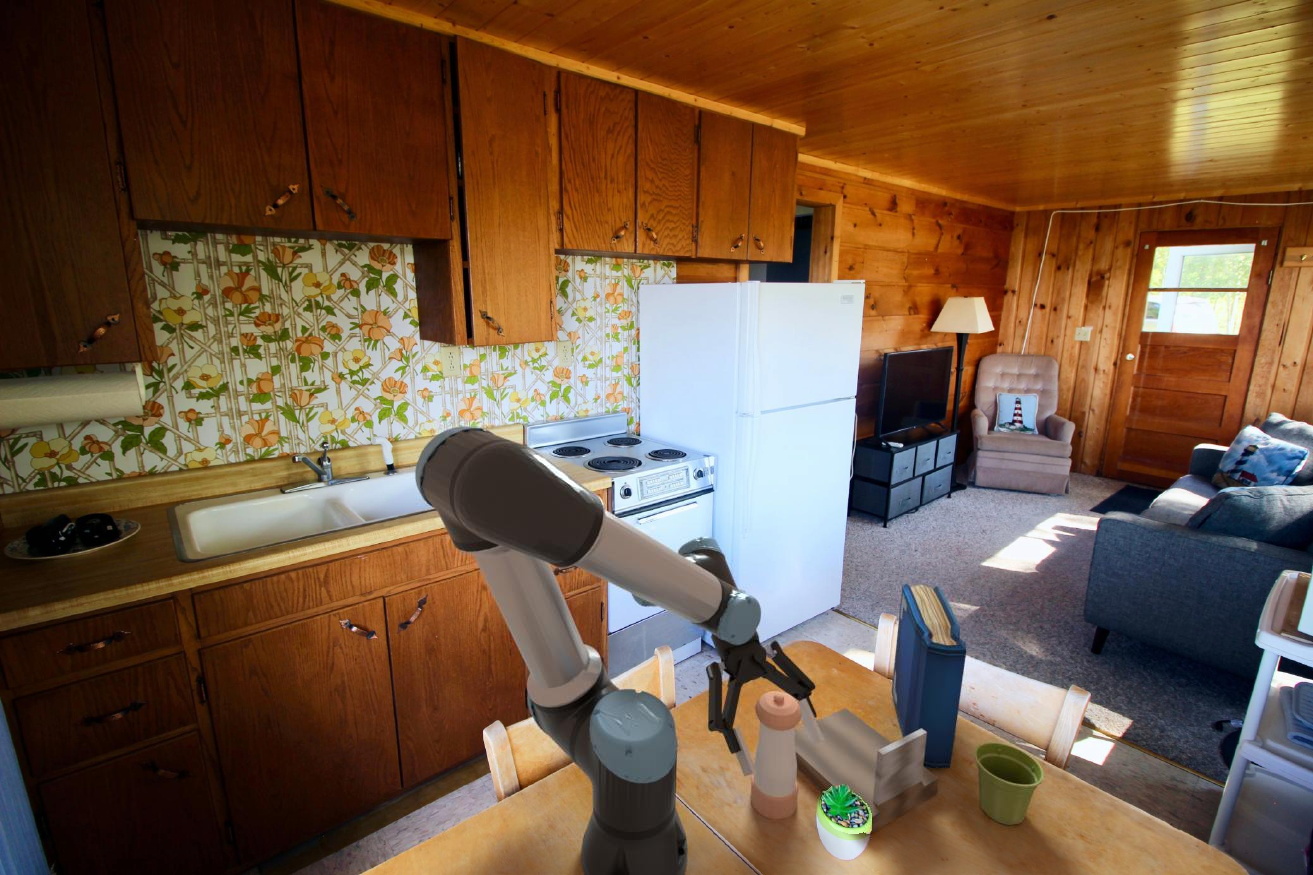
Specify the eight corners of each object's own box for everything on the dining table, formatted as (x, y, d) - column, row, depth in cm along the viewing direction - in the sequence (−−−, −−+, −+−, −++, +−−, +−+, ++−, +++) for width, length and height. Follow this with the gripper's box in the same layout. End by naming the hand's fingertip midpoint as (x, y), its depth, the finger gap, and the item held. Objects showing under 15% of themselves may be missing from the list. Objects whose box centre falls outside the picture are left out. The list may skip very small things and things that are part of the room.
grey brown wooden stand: (867, 835, 92) (874, 766, 89) (779, 751, 109) (782, 691, 106) (937, 794, 99) (945, 729, 97) (844, 721, 116) (848, 665, 114)
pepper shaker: (748, 814, 96) (753, 706, 91) (752, 779, 102) (757, 677, 98) (796, 823, 94) (803, 713, 90) (797, 787, 101) (803, 684, 97)
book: (956, 779, 103) (973, 644, 97) (911, 772, 104) (925, 639, 99) (927, 698, 123) (940, 583, 118) (890, 694, 125) (901, 580, 119)
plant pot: (970, 778, 103) (976, 733, 101) (1036, 801, 98) (1043, 755, 96) (965, 818, 95) (971, 770, 93) (1036, 845, 90) (1044, 795, 88)
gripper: (775, 614, 113) (830, 734, 103) (658, 652, 101) (708, 792, 91) (797, 600, 107) (857, 725, 98) (675, 638, 95) (730, 785, 86)
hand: (785, 758), depth 94 cm, fingers open, 13 cm apart
